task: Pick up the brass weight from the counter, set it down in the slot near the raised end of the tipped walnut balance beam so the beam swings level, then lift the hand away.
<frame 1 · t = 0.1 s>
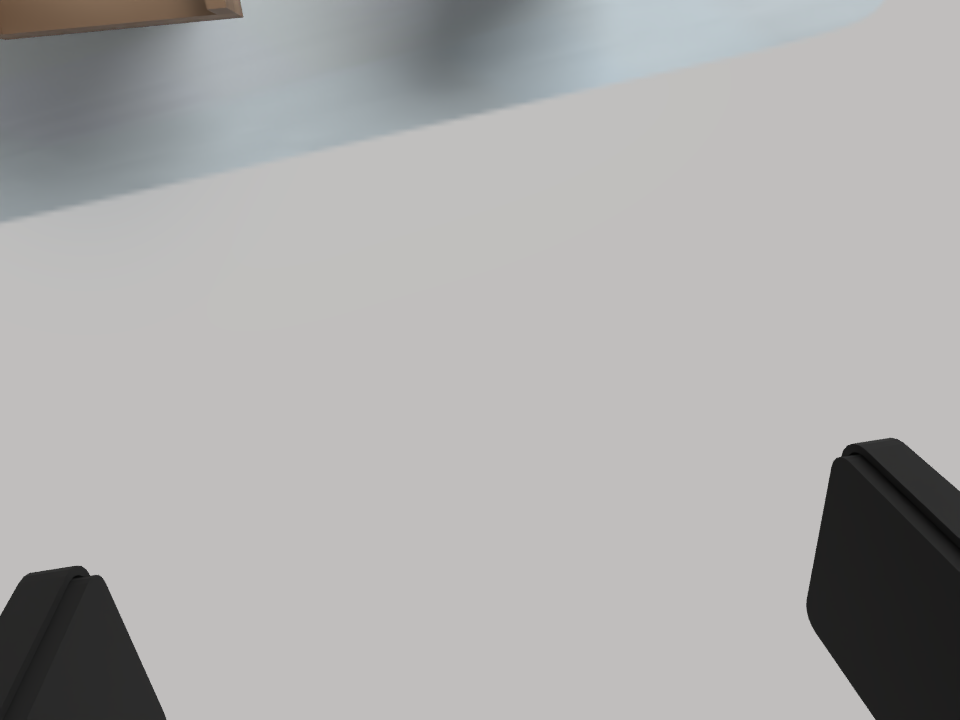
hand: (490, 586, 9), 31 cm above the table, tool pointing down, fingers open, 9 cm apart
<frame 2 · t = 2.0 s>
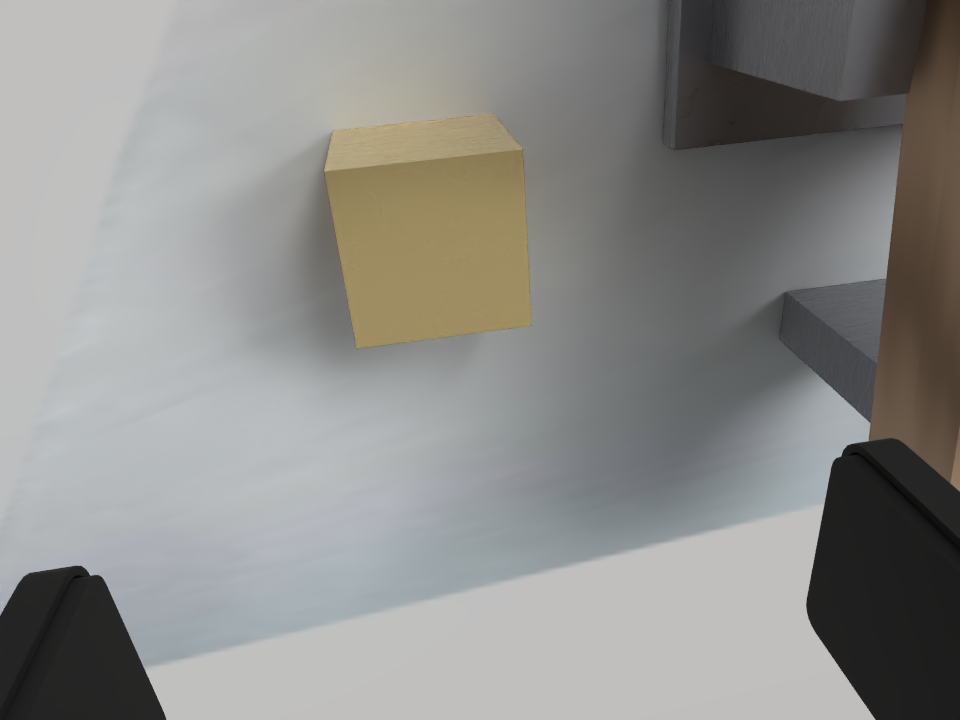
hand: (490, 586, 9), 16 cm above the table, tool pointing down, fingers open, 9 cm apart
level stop: (832, 309, 28), on the table
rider: (423, 200, 24), on the table
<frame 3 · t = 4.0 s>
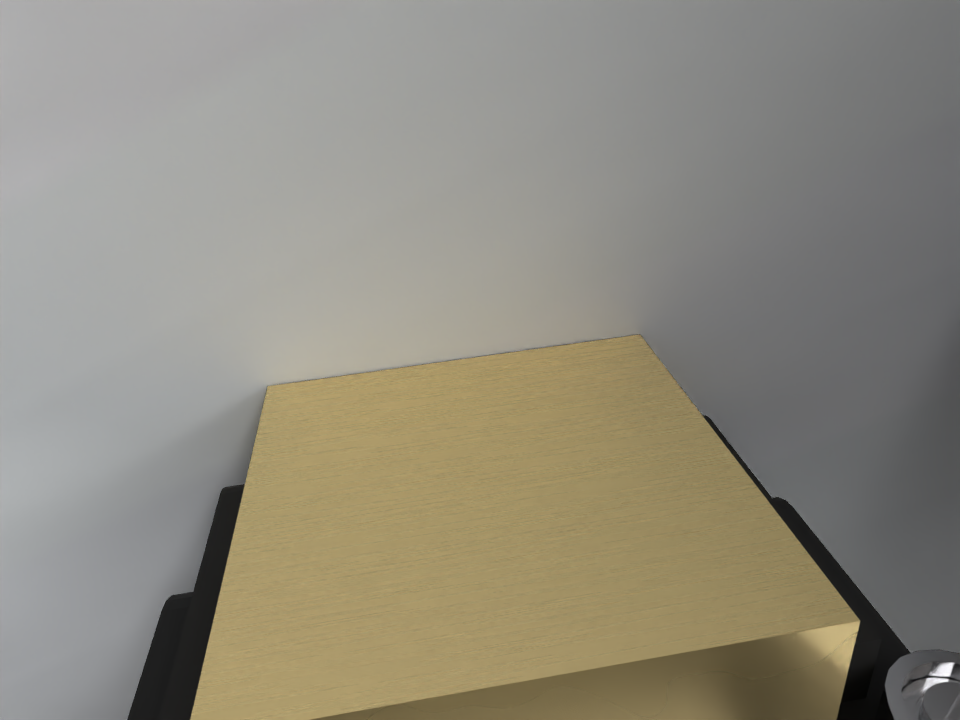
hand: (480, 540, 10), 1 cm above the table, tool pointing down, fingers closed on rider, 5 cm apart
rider: (473, 506, 11), on the table, touching gripper
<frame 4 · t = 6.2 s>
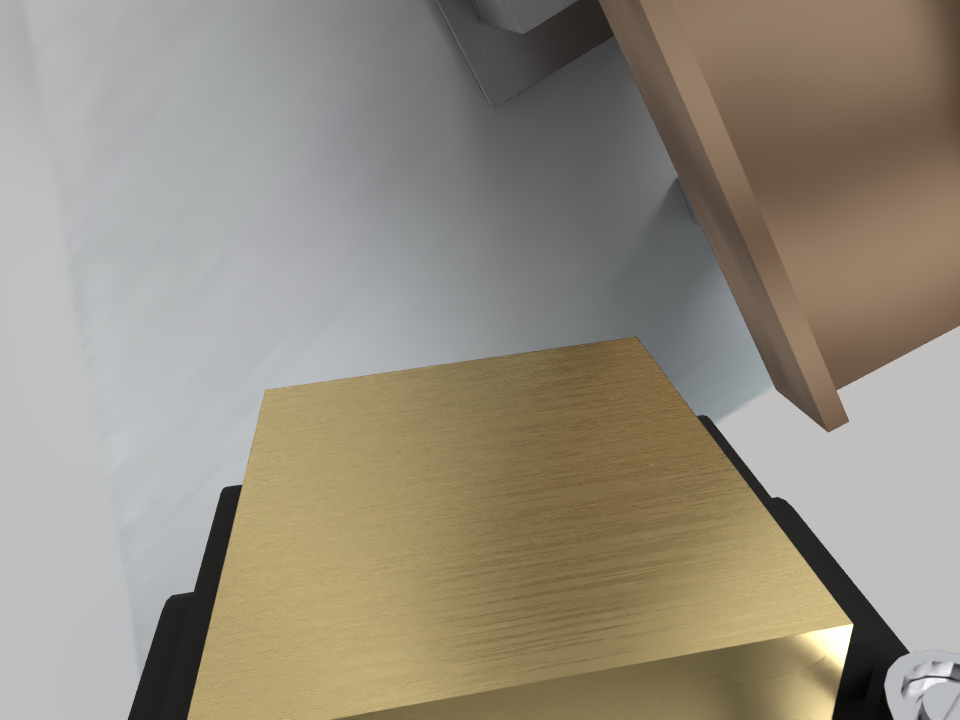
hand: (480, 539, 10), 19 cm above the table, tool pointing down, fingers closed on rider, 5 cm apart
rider: (471, 508, 11), point 18 cm above the table, touching gripper
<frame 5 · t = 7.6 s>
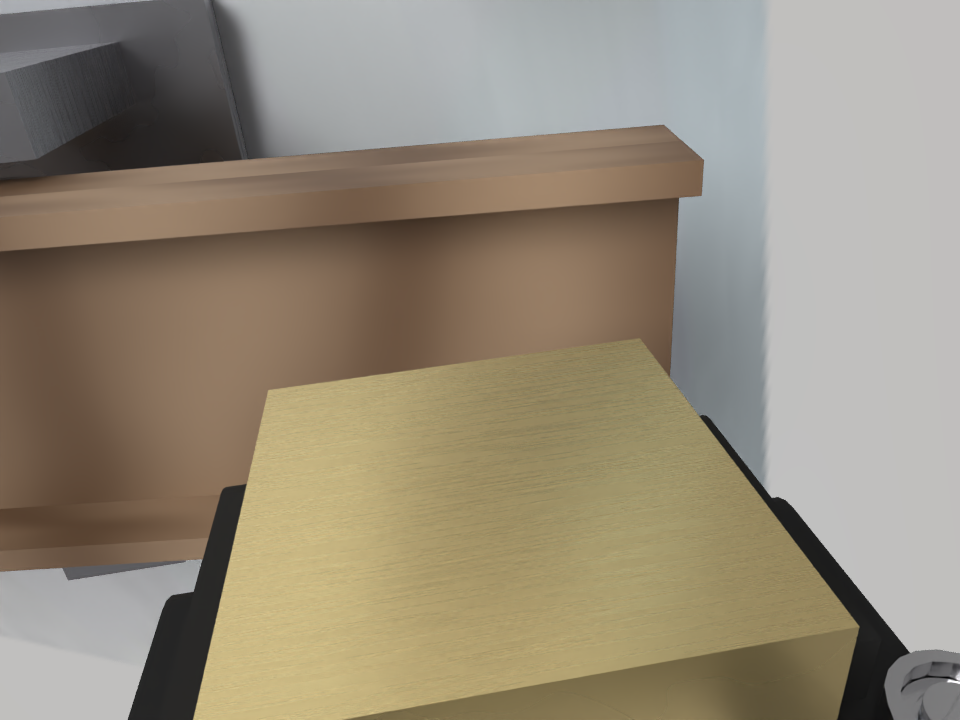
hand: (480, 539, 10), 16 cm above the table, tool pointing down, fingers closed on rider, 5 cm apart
pivot stand: (139, 250, 23), on the table
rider: (474, 509, 11), point 15 cm above the table, touching gripper
beam: (12, 391, 15), point 9 cm above the table, hinge at -8.0°
when the fingers open (12 cm above the table, at t = 8.6 s): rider drops 2 cm, resting on beam.
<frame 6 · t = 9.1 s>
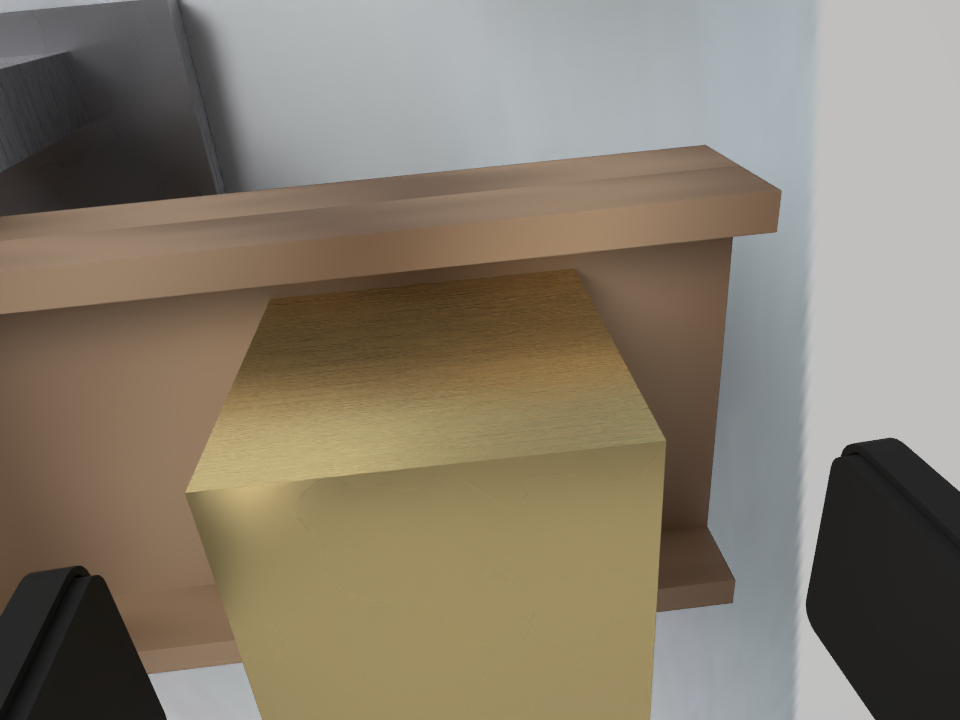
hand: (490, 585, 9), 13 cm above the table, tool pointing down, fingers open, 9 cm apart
pivot stand: (100, 289, 20), on the table
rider: (438, 411, 13), point 9 cm above the table, touching beam
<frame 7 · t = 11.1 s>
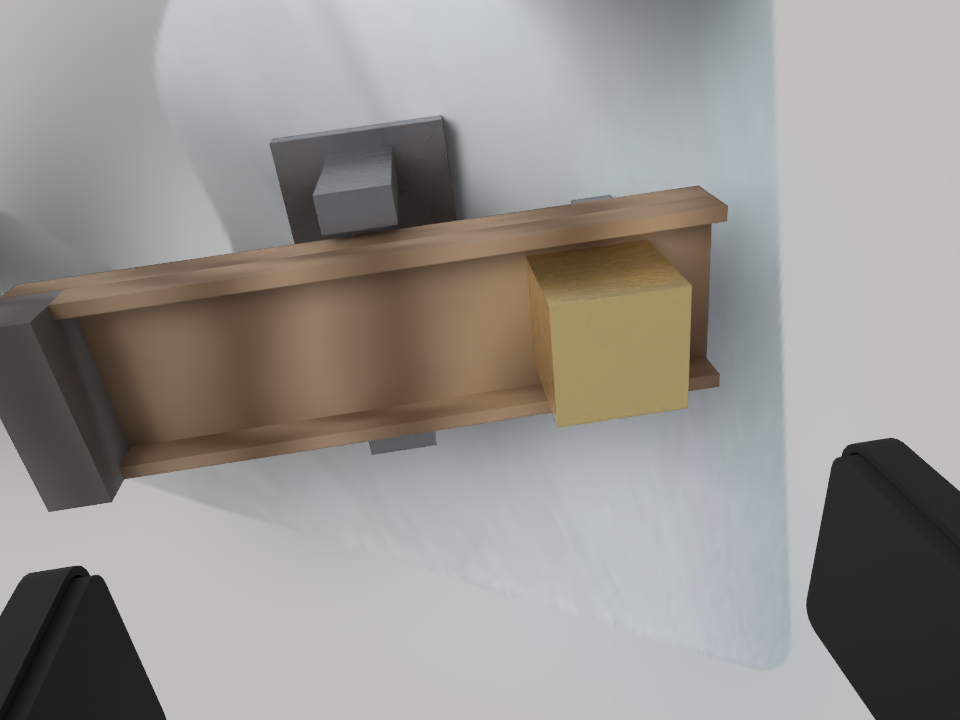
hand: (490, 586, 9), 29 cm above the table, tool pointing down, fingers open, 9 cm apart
pivot stand: (383, 265, 38), on the table
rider: (589, 304, 30), point 8 cm above the table, touching beam
beam: (380, 341, 30), point 9 cm above the table, hinge at 0.2°, touching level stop, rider
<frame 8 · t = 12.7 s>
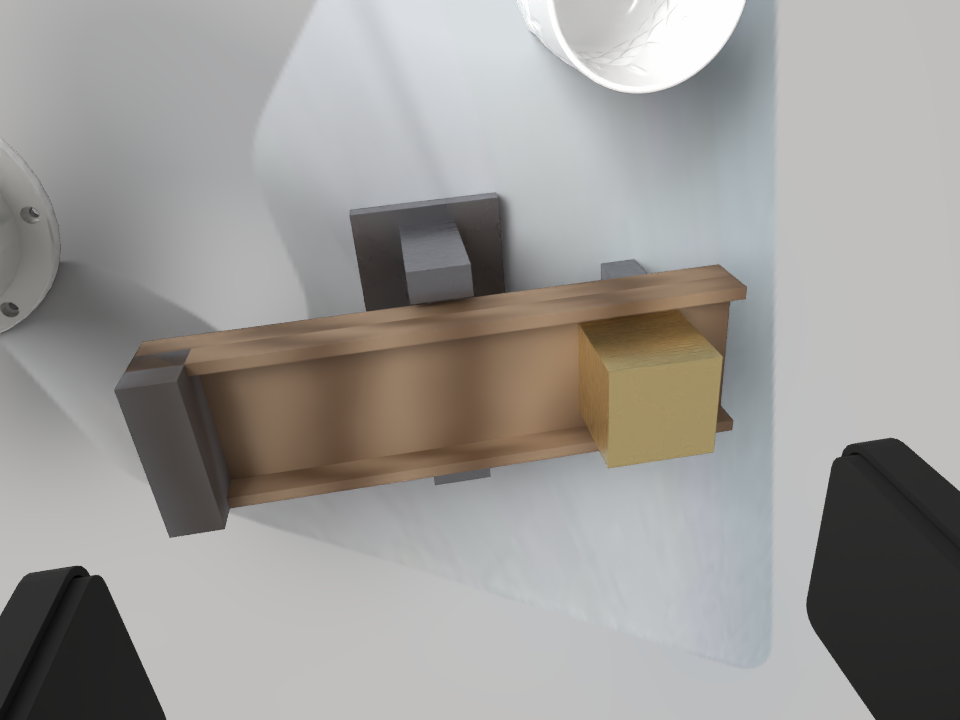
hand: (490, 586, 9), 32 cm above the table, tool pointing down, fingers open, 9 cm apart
pivot stand: (437, 316, 43), on the table
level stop: (617, 292, 44), on the table
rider: (627, 361, 36), point 8 cm above the table, touching beam
beam: (453, 392, 35), point 9 cm above the table, hinge at 0.2°, touching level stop, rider
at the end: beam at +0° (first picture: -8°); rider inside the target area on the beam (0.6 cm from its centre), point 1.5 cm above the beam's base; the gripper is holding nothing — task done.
